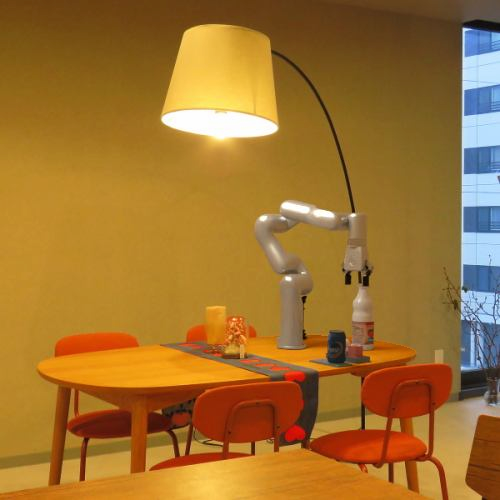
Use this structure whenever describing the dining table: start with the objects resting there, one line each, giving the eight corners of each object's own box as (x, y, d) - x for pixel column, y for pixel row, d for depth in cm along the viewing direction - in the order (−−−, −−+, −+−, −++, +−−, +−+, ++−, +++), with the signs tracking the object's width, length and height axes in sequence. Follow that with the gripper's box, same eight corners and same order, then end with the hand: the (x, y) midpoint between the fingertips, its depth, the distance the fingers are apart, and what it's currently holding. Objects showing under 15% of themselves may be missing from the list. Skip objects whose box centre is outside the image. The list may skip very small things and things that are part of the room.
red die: (347, 355, 297) (348, 344, 297) (355, 354, 300) (355, 343, 300) (355, 357, 294) (355, 345, 294) (362, 356, 297) (362, 344, 297)
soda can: (325, 364, 286) (326, 331, 286) (328, 361, 293) (329, 329, 292) (344, 364, 284) (345, 332, 284) (346, 362, 291) (347, 330, 291)
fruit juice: (351, 347, 336) (352, 282, 335) (373, 347, 335) (374, 283, 334) (351, 350, 326) (352, 284, 326) (374, 350, 325) (375, 284, 325)
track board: (309, 361, 294) (309, 360, 294) (323, 360, 299) (323, 358, 299) (337, 367, 283) (337, 365, 283) (352, 365, 287) (352, 363, 287)
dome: (328, 352, 303) (328, 336, 303) (342, 350, 308) (342, 335, 308) (342, 354, 297) (342, 339, 297) (356, 352, 302) (356, 337, 302)
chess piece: (304, 340, 356) (305, 296, 356) (287, 339, 358) (288, 296, 357) (307, 337, 364) (307, 295, 364) (290, 337, 366) (291, 295, 365)
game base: (325, 358, 304) (325, 352, 304) (340, 356, 309) (340, 351, 309) (355, 363, 292) (355, 358, 292) (370, 361, 297) (370, 356, 297)
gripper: (335, 242, 317) (335, 284, 317) (367, 243, 303) (366, 287, 304) (348, 243, 322) (347, 283, 322) (379, 243, 308) (379, 286, 308)
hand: (356, 285), depth 313 cm, fingers open, 9 cm apart
